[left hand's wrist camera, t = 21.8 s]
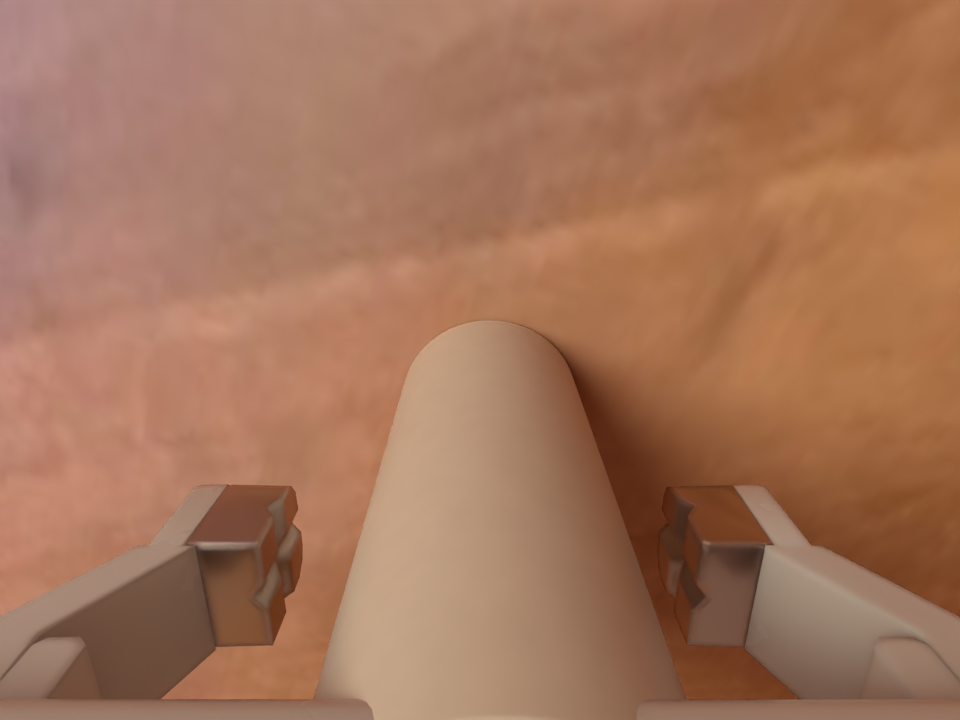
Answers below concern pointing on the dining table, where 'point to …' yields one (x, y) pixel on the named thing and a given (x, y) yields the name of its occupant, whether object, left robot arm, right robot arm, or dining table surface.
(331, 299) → the dining table surface
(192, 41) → the dining table surface
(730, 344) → the dining table surface
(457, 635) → the canister
